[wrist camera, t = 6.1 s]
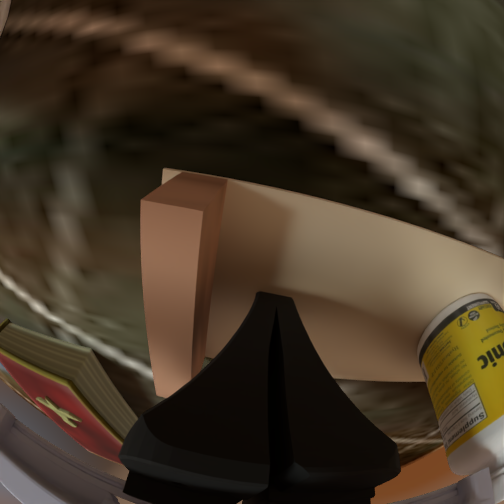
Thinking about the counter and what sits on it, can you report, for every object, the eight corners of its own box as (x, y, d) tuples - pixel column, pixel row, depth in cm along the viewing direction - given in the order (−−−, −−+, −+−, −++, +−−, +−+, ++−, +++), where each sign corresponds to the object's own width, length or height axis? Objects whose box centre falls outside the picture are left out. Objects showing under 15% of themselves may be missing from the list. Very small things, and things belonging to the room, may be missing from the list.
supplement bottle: (508, 292, 10) (585, 431, 1) (462, 361, 12) (503, 492, 4) (446, 282, 10) (538, 483, 1) (397, 363, 12) (429, 531, 4)
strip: (463, 377, 13) (476, 412, 10) (163, 342, 13) (142, 390, 11) (536, 272, 9) (564, 304, 6) (165, 168, 9) (117, 196, 6)
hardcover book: (96, 428, 27) (86, 451, 23) (8, 314, 17) (-17, 343, 13) (174, 453, 25) (166, 481, 22) (96, 341, 15) (67, 388, 12)
